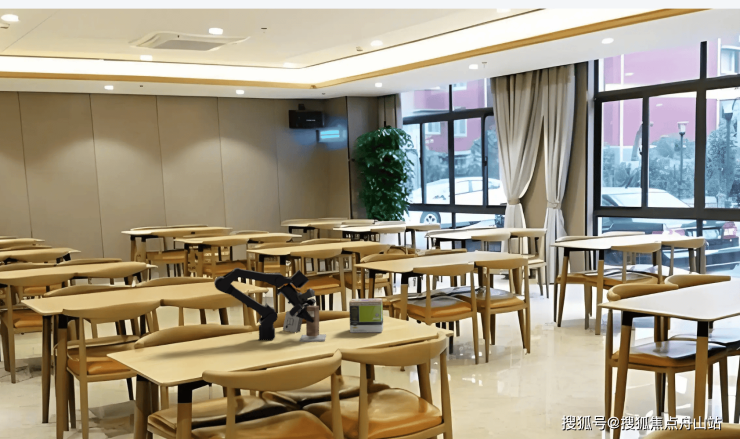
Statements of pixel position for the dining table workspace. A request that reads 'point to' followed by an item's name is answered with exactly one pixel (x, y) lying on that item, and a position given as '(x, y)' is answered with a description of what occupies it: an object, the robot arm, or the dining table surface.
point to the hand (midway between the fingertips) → (315, 321)
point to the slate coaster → (313, 338)
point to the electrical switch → (292, 323)
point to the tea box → (366, 315)
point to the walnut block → (313, 328)
